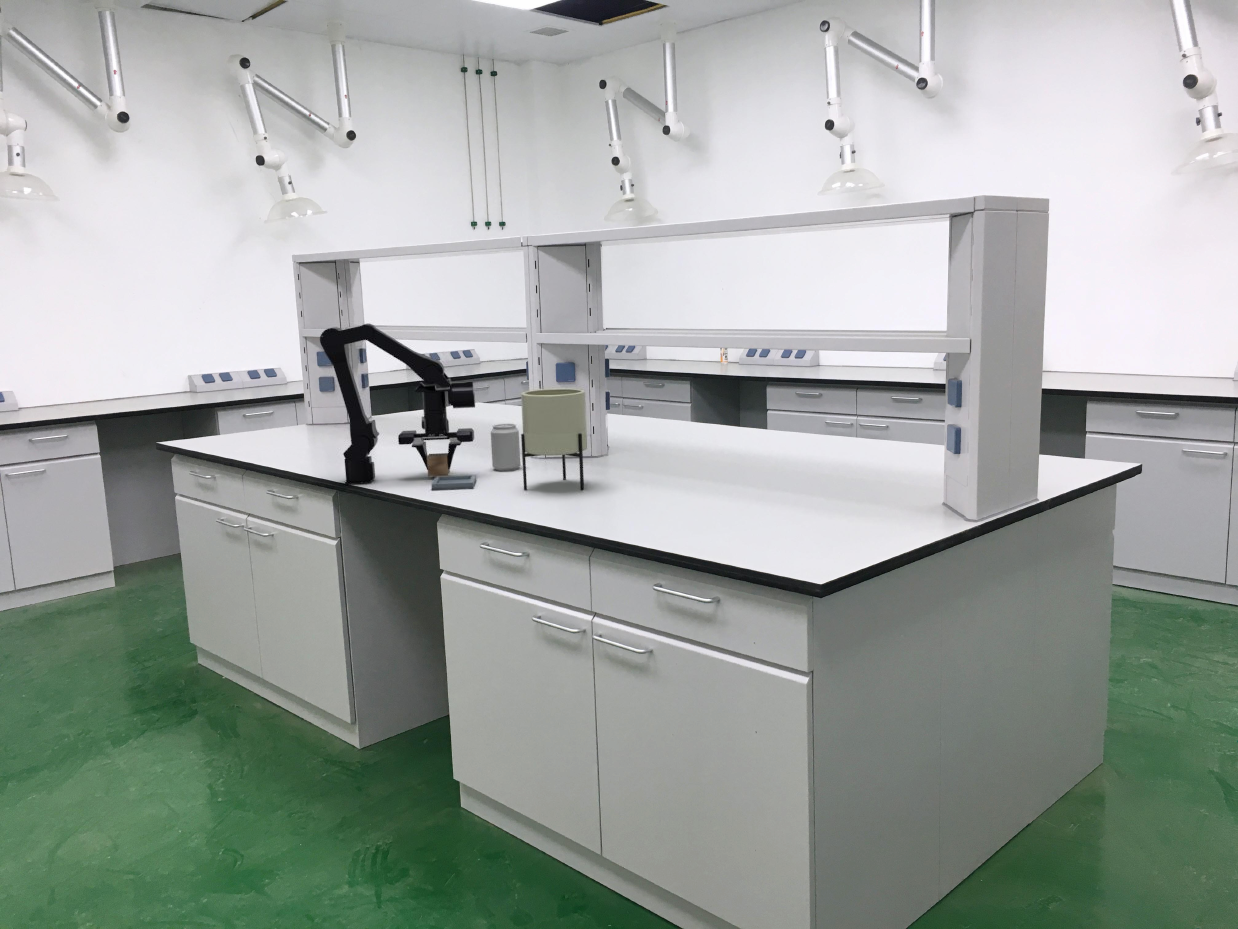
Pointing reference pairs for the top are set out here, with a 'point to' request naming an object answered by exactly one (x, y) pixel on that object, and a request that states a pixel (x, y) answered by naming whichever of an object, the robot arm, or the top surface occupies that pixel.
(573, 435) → the planter
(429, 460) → the cube
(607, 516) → the top surface
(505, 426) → the can
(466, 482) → the tray
